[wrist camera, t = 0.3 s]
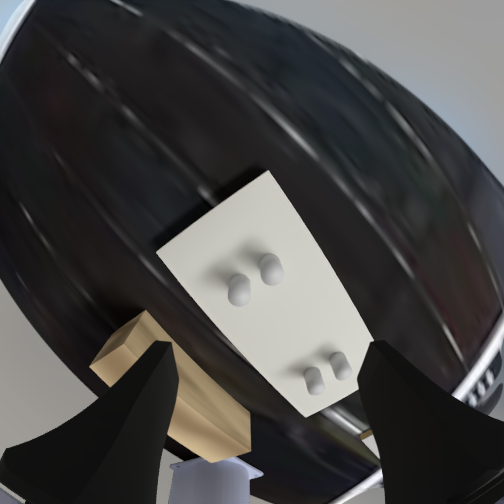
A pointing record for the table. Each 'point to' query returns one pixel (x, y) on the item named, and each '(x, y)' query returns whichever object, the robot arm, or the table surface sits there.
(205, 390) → the tan block
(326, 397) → the peg rack
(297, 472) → the table surface
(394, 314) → the table surface
